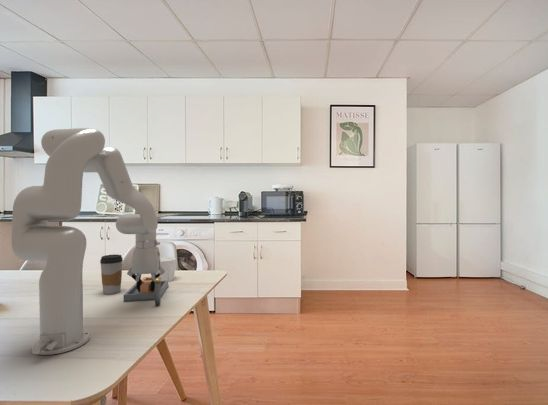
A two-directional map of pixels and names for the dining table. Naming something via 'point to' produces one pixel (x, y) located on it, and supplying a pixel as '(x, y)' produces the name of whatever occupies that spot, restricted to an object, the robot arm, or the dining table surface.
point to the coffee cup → (111, 273)
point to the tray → (136, 296)
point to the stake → (157, 291)
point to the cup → (167, 268)
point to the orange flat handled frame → (147, 285)
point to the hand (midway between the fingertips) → (146, 290)
